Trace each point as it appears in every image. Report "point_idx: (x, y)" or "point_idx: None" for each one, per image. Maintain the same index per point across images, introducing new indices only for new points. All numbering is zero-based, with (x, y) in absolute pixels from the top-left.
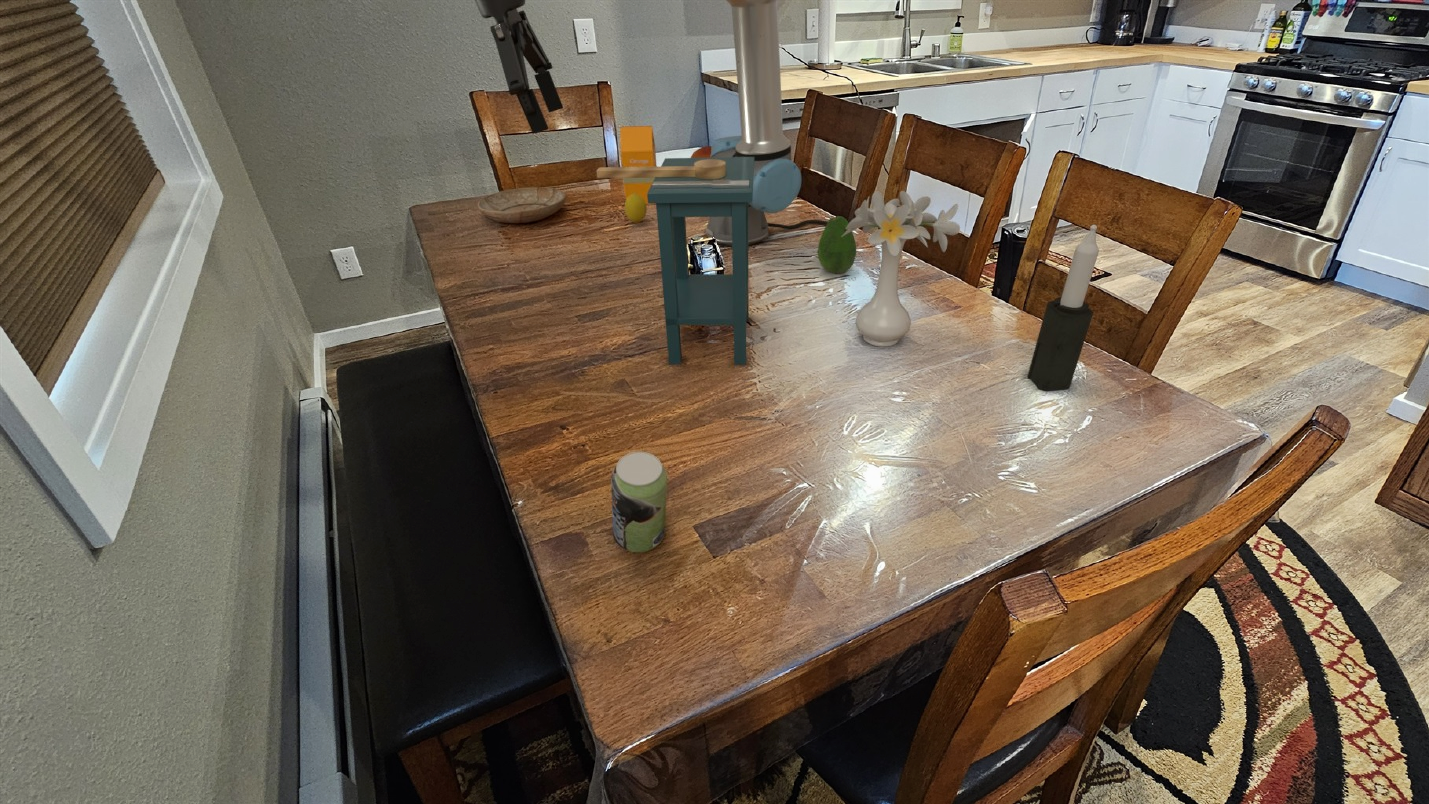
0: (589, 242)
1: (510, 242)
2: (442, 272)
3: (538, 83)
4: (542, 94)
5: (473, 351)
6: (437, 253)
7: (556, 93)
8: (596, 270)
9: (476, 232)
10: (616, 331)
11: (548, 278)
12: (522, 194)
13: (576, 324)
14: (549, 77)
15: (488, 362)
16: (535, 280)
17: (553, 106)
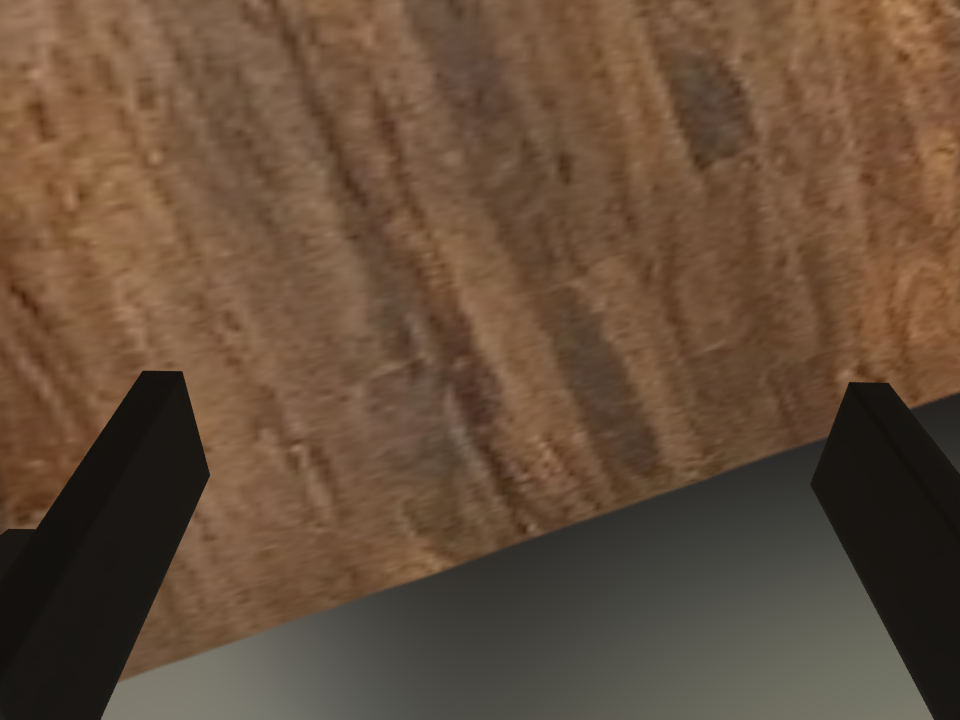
0: (80, 215)
1: None
2: (345, 598)
3: (101, 700)
4: (152, 598)
5: None
6: (209, 641)
7: (125, 470)
8: (338, 152)
9: None
10: (840, 13)
11: (400, 304)
12: None
13: (759, 157)
14: (34, 629)
15: (938, 362)
16: (414, 341)
17: (185, 456)
